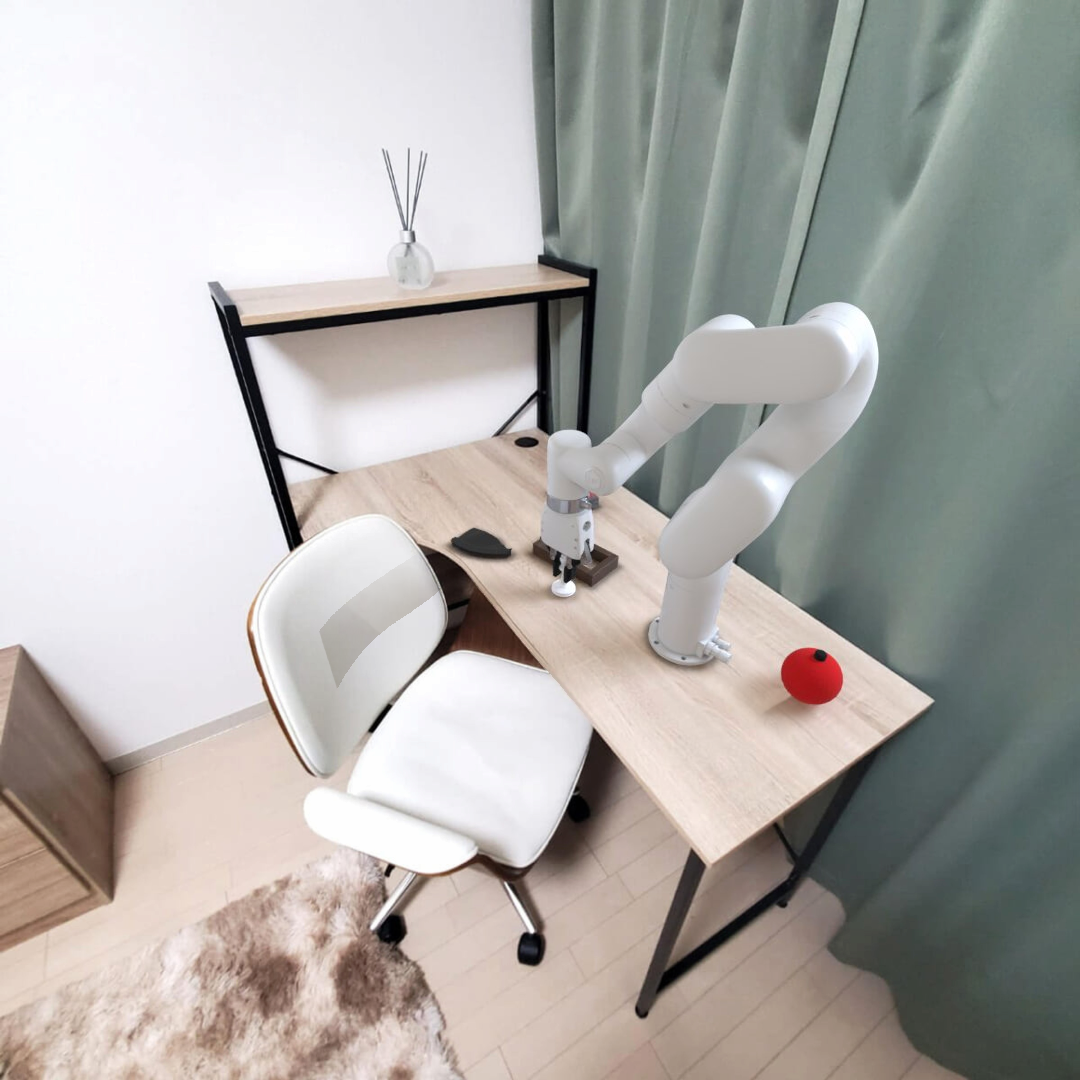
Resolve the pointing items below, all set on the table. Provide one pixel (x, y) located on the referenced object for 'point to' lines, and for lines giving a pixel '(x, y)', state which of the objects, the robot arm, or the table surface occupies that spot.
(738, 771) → the table surface
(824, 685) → the ornament
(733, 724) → the table surface
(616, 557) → the rack
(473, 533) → the curved wedge
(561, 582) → the chess piece
